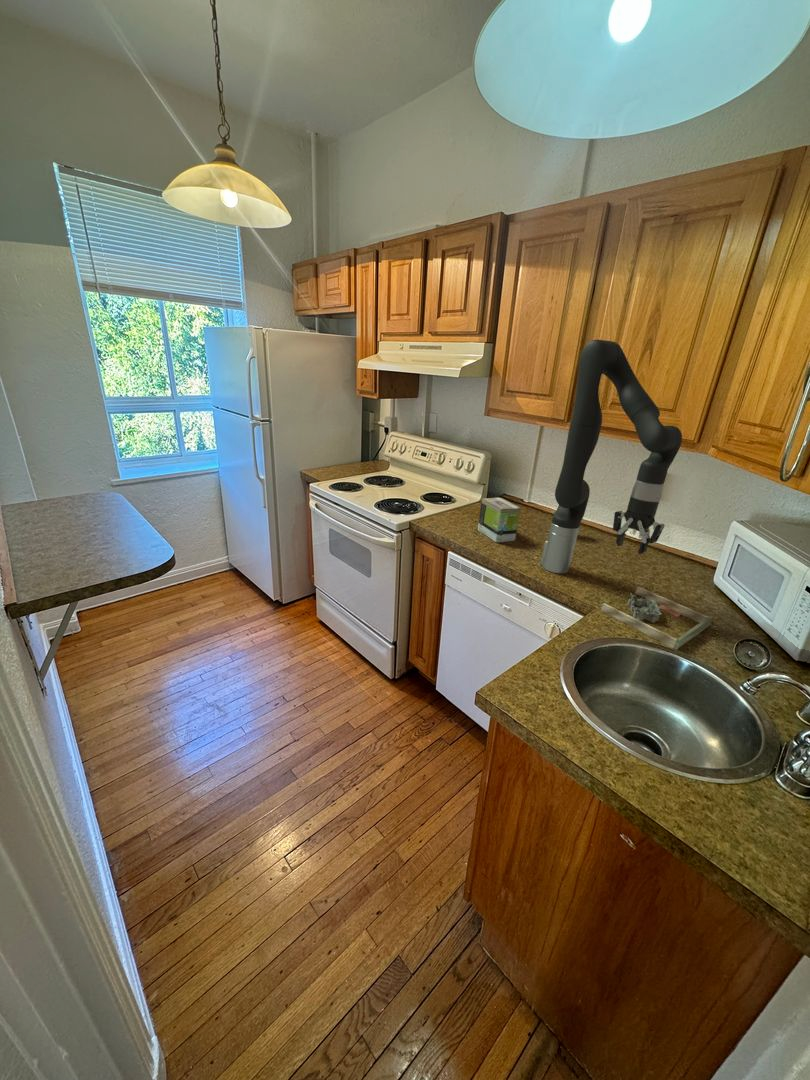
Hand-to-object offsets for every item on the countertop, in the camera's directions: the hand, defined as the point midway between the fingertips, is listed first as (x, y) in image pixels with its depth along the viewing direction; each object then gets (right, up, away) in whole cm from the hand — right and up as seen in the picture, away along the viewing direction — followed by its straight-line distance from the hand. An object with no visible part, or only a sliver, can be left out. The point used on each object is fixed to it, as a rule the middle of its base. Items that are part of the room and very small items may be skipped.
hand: (629, 549), depth 128 cm
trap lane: (+6, -20, -2) cm, 21 cm away
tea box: (-30, +5, +52) cm, 60 cm away
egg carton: (+4, -20, +1) cm, 20 cm away
